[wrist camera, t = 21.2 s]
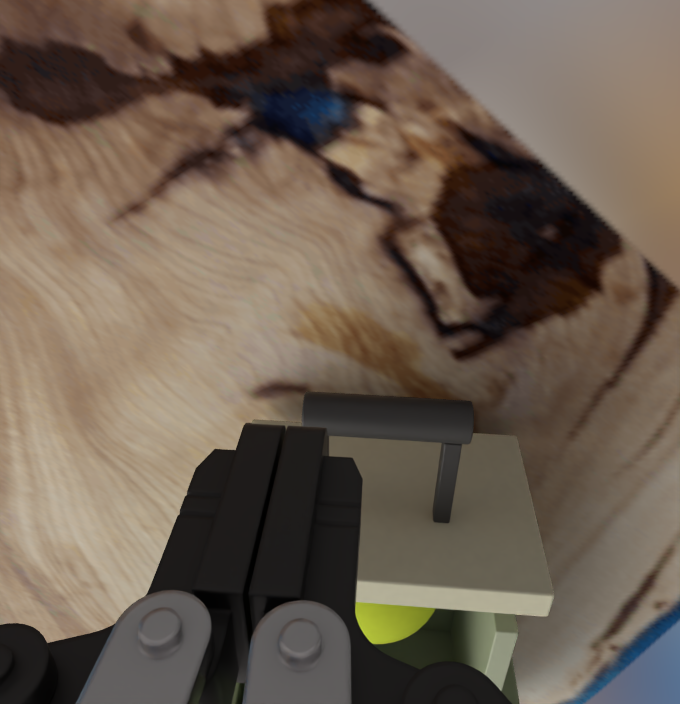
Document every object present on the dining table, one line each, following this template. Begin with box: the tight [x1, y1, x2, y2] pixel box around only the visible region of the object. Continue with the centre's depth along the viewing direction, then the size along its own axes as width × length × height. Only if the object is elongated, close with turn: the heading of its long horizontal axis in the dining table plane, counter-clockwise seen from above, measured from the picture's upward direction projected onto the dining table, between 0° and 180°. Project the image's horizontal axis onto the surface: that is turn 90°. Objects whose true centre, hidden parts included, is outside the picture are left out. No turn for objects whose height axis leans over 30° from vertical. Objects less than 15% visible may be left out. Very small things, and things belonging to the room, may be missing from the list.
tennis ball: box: [355, 602, 436, 644], centre depth 26 cm, size 6×6×6 cm
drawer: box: [252, 392, 555, 691], centre depth 26 cm, size 19×11×8 cm, turn 179°
